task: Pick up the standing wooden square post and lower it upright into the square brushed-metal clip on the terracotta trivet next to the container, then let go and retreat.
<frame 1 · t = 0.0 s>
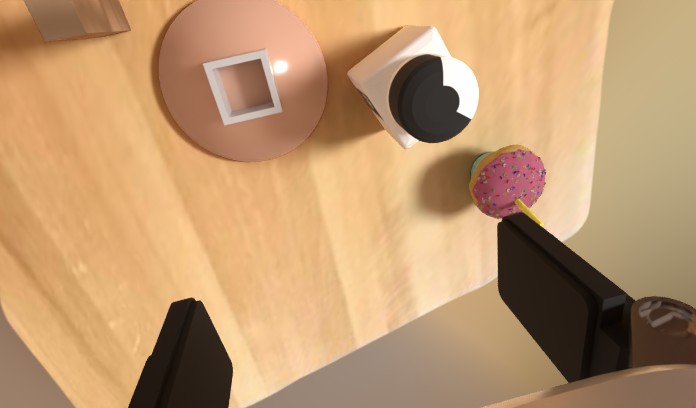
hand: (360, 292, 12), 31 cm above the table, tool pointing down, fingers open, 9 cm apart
clip base: (247, 83, 38), on the table
cupcake: (486, 168, 47), on the table
wooden square post: (108, 16, 34), on the table
container: (394, 79, 40), on the table
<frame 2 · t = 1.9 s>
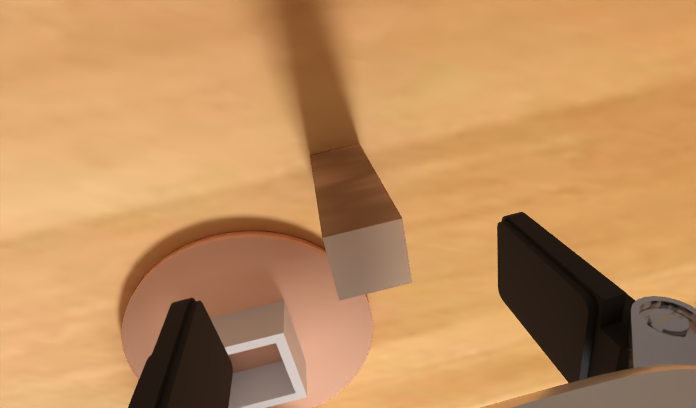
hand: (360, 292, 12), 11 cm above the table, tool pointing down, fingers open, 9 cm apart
clip base: (255, 333, 26), on the table
wooden square post: (339, 172, 22), on the table
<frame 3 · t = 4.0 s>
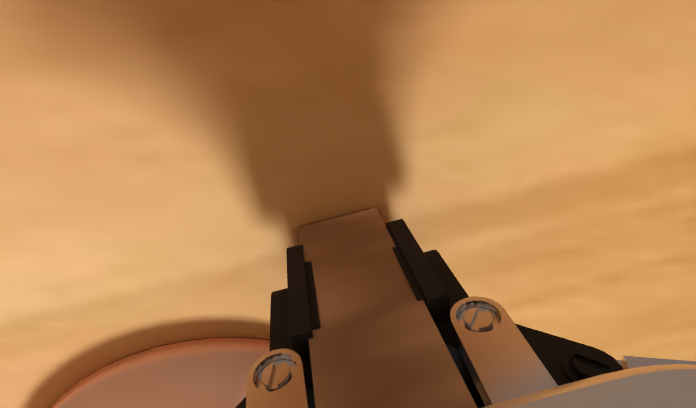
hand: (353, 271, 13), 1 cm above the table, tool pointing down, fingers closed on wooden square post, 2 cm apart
wooden square post: (344, 249, 14), on the table, touching gripper
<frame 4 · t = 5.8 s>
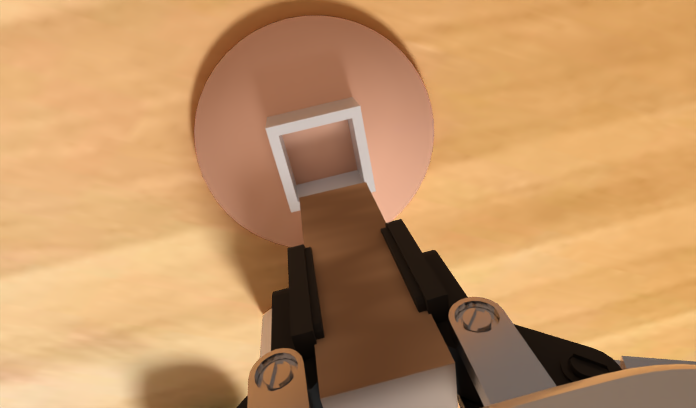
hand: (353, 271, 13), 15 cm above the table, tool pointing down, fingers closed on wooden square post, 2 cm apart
clip base: (318, 144, 26), on the table
wooden square post: (339, 218, 16), point 11 cm above the table, touching gripper
container: (324, 312, 33), on the table
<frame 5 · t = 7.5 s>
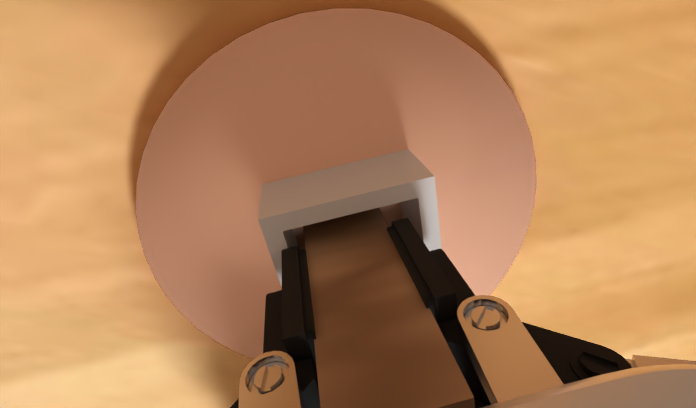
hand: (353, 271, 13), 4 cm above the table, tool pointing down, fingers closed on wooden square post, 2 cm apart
clip base: (347, 220, 16), on the table
wooden square post: (343, 230, 15), point 1 cm above the table, touching clip base, gripper
when the fingers open (4 cm above the table, at t = 8.1 s): wooden square post stays where it is, resting on clip base.
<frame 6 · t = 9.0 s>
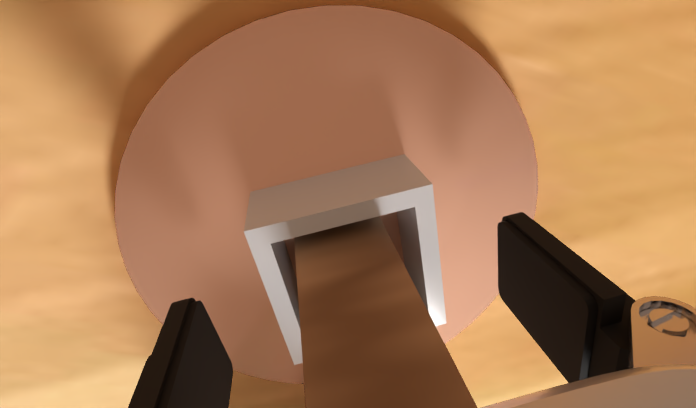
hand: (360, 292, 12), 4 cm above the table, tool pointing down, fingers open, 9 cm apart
clip base: (340, 228, 15), on the table
wooden square post: (337, 232, 14), point 1 cm above the table, touching clip base
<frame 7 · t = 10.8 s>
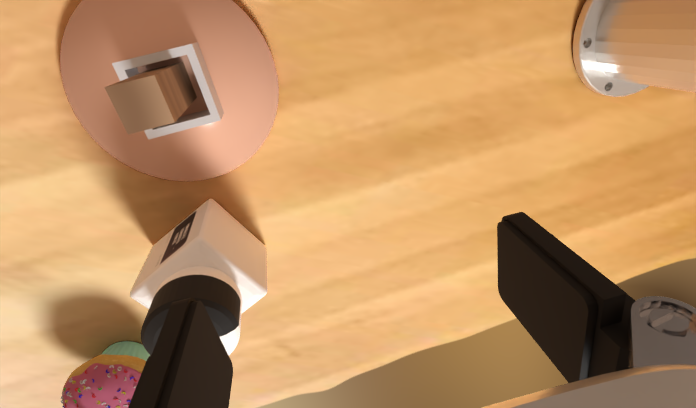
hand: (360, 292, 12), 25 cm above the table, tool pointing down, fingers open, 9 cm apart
clip base: (178, 86, 31), on the table
cupcake: (128, 354, 41), on the table
wooden square post: (172, 84, 30), point 1 cm above the table, touching clip base
container: (212, 245, 38), on the table
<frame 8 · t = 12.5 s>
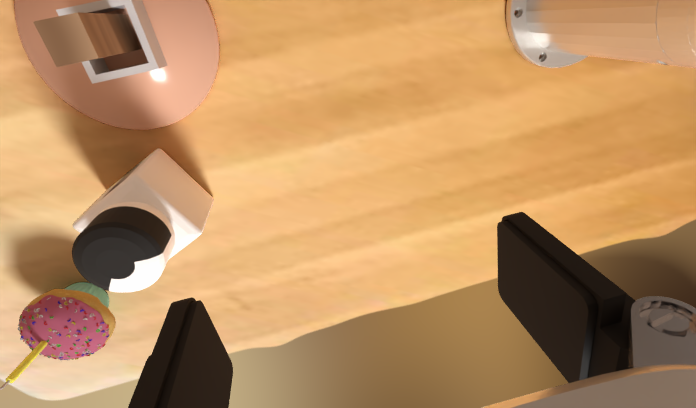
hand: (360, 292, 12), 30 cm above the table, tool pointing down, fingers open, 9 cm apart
clip base: (125, 38, 34), on the table
cupcake: (87, 296, 44), on the table
wooden square post: (118, 35, 33), point 1 cm above the table, touching clip base
container: (162, 194, 41), on the table
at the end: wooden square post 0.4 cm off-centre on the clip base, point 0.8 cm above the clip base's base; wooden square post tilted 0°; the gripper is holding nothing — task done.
